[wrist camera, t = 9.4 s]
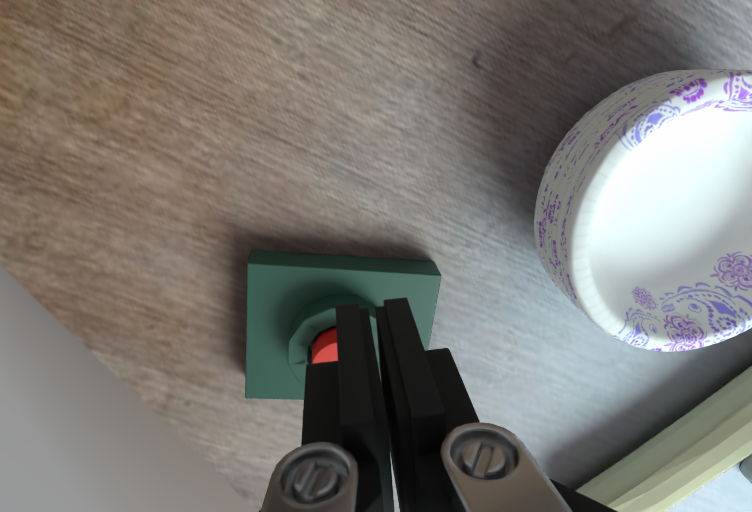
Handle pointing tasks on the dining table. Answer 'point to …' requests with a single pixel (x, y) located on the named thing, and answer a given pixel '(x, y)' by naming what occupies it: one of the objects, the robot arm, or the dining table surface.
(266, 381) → the button block
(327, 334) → the button
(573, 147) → the paper bowls
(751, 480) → the alarm clock
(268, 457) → the dining table surface
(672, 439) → the rolling pin
